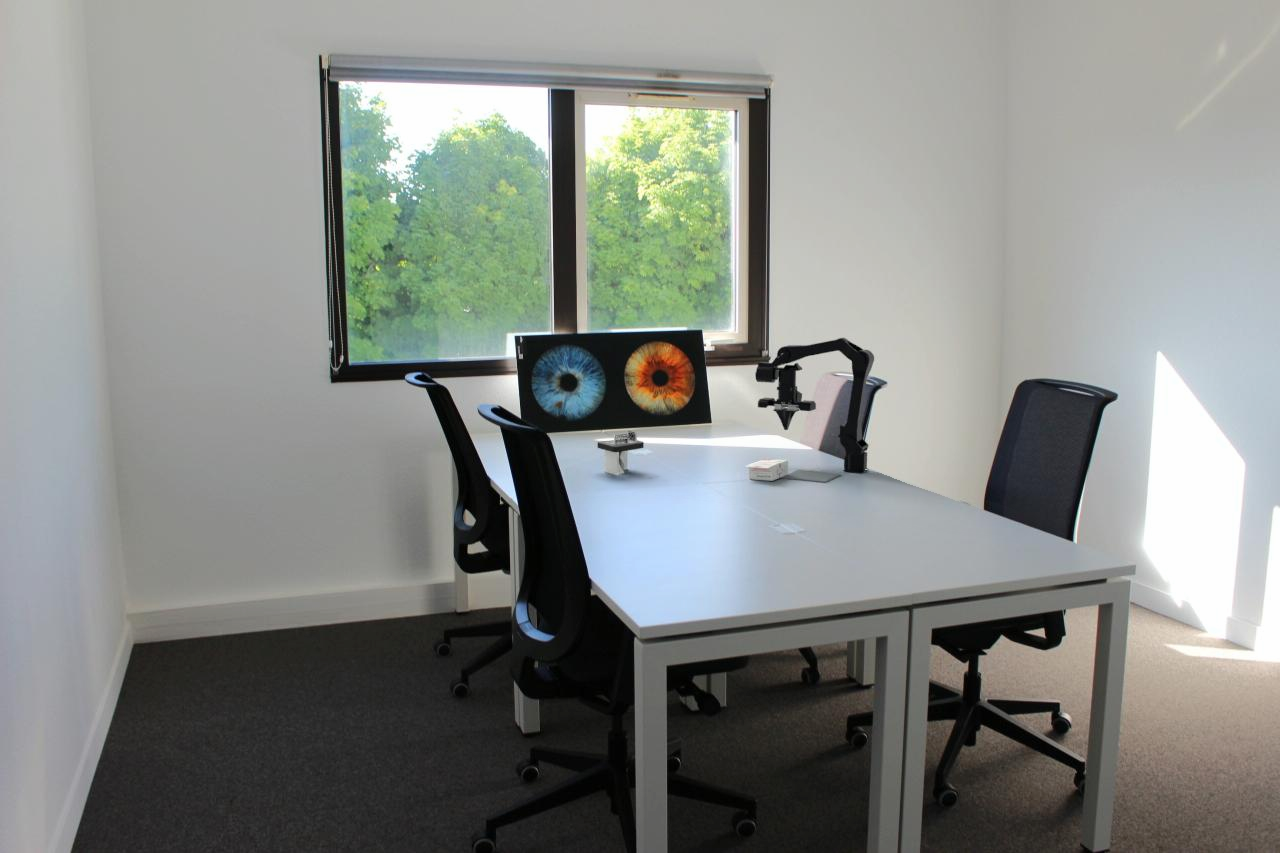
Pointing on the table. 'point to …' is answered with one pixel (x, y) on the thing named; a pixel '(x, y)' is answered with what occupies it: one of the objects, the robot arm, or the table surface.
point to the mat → (811, 476)
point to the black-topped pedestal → (619, 452)
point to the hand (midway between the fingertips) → (786, 429)
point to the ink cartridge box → (768, 469)
